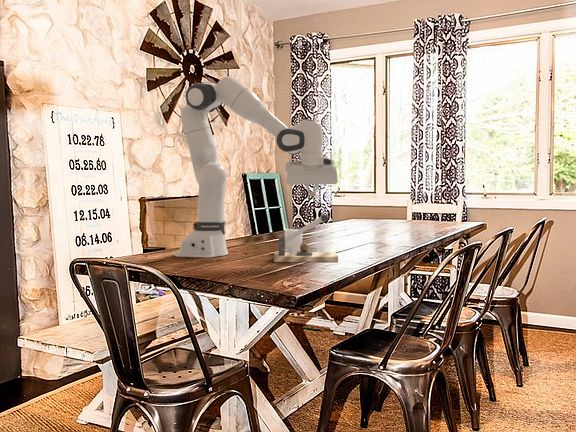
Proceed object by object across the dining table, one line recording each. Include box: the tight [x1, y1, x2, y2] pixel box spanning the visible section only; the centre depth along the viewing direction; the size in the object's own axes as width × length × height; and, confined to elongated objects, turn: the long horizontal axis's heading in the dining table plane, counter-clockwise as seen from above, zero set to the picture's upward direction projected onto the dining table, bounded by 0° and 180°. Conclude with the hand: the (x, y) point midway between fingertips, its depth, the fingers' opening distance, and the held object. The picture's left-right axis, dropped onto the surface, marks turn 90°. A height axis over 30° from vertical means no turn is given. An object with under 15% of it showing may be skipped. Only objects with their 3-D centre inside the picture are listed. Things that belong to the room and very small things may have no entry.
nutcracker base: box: [273, 235, 339, 263], centre depth 221 cm, size 25×12×9 cm, turn 90°
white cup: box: [283, 228, 303, 252], centre depth 240 cm, size 8×8×10 cm
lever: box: [285, 213, 329, 243], centre depth 220 cm, size 22×6×3 cm, turn 91°
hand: (312, 196), depth 219 cm, fingers closed
